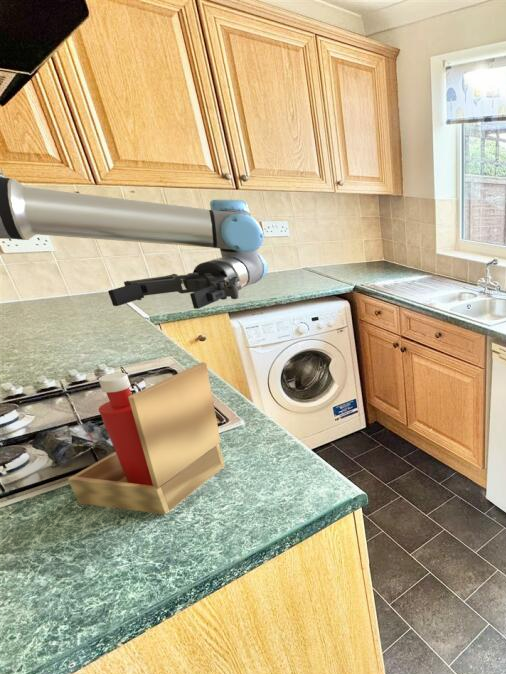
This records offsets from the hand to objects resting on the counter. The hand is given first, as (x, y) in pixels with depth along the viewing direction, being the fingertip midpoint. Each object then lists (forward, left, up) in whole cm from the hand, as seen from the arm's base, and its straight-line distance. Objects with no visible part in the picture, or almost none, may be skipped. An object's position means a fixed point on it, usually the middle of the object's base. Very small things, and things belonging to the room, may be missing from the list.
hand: (153, 300), depth 74 cm
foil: (-14, -6, -31) cm, 35 cm away
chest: (+3, -13, -31) cm, 34 cm away
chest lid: (+11, -13, -17) cm, 24 cm away
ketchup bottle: (+2, -13, -30) cm, 33 cm away
